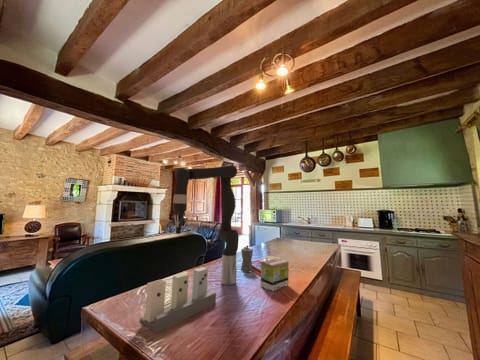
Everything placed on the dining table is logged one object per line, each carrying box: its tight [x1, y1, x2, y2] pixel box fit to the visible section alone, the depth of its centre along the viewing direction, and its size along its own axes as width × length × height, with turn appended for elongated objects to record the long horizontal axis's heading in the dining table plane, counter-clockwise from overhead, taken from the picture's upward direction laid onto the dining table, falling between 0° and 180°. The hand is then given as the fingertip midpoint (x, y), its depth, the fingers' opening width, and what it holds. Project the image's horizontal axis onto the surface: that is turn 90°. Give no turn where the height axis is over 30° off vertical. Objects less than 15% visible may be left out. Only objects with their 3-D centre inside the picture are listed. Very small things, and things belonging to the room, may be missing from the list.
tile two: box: [170, 272, 190, 309], centre depth 93 cm, size 4×6×14 cm
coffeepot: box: [240, 245, 254, 273], centre depth 153 cm, size 15×9×18 cm, turn 13°
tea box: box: [260, 258, 289, 292], centre depth 122 cm, size 15×10×15 cm
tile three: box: [191, 266, 209, 300], centre depth 102 cm, size 4×6×14 cm
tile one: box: [144, 278, 166, 323], centre depth 84 cm, size 4×6×14 cm
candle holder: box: [265, 255, 281, 261], centre depth 141 cm, size 10×10×12 cm
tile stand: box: [139, 291, 217, 334], centre depth 91 cm, size 13×31×5 cm, turn 141°
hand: (178, 233), depth 112 cm, fingers closed
